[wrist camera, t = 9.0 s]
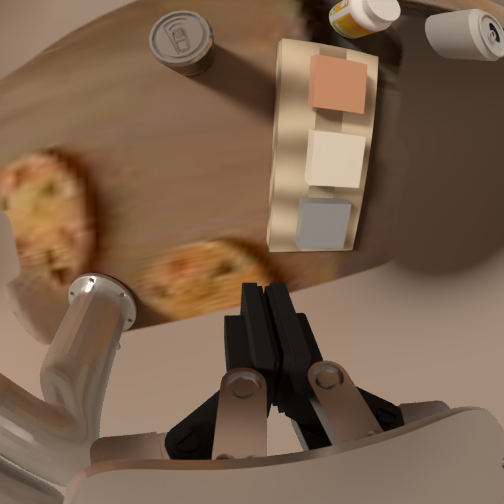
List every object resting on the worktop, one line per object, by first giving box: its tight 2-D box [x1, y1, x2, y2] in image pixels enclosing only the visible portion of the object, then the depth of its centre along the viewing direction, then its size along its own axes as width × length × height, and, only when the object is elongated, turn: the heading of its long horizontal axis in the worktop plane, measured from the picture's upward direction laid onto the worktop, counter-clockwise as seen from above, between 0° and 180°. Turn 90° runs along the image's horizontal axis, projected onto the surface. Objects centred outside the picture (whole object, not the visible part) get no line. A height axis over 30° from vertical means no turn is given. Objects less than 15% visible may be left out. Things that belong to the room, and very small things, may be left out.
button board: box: [267, 39, 378, 252], centre depth 34 cm, size 27×12×3 cm, turn 178°
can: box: [425, 9, 504, 61], centre depth 21 cm, size 8×8×12 cm
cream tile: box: [305, 129, 366, 188], centre depth 31 cm, size 6×6×4 cm
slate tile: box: [295, 197, 351, 249], centre depth 36 cm, size 6×6×4 cm
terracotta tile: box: [308, 54, 367, 114], centre depth 27 cm, size 6×6×4 cm
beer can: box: [149, 10, 215, 76], centre depth 22 cm, size 5×5×12 cm
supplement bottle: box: [329, 0, 400, 38], centre depth 22 cm, size 5×5×10 cm
